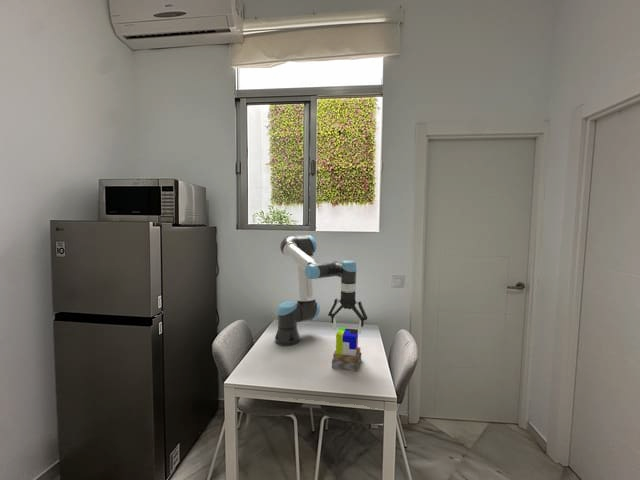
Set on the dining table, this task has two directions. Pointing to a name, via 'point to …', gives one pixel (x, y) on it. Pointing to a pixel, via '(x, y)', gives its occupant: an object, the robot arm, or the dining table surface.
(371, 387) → the dining table surface
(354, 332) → the puzzle toy
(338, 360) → the plinth
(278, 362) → the dining table surface
